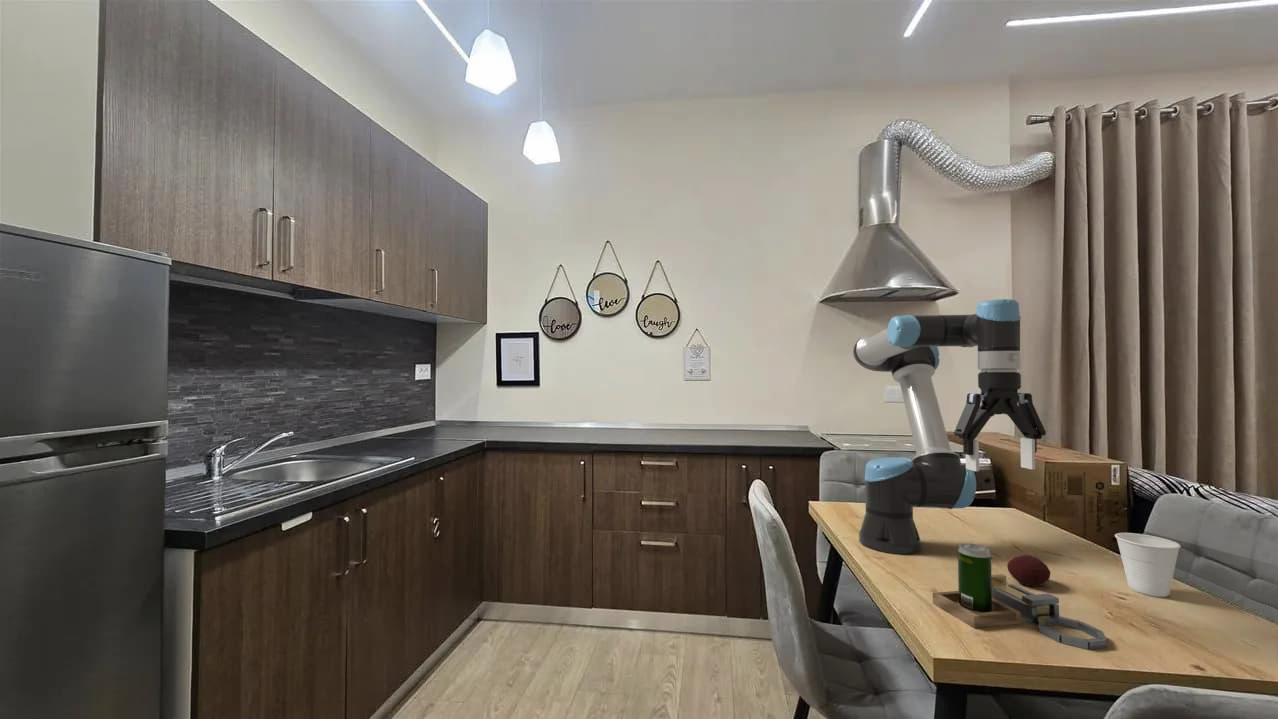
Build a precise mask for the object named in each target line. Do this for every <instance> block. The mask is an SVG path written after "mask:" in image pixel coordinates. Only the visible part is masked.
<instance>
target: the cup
mask: <svg viewBox="0 0 1278 719" xmlns="http://www.w3.org/2000/svg"><path fill="white" fill-rule="evenodd" d="M1114 537H1115V538H1116V541H1117V546H1118V548H1119V553H1120V556H1121V561H1122V565H1123V569H1124V572H1125V577H1126V581H1127V585H1128V586H1127V587H1129V588H1130V589H1131V590H1132V591H1133V592H1137V593H1138V594H1141V595H1144V596H1149V597H1154V598H1166V597H1168V596H1170V593H1171V588H1172V582H1173V578H1174V575H1175V569H1176V565H1177V560H1178V559H1177V558H1178V556H1179V550H1180V549H1181V547H1182V546H1181V544H1179V543H1178V542H1175V541H1174V540H1170V539H1167V538H1163V537H1159V536H1155V535H1148V534H1142V533H1134V532H1118V533H1115V534H1114Z"/></svg>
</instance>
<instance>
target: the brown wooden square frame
mask: <svg viewBox="0 0 1278 719" xmlns="http://www.w3.org/2000/svg"><path fill="white" fill-rule="evenodd" d="M932 604H933V605H935V606H936V607H938V608H940V609H942V610H943V611H945V612H947V613H948V614H950V615H952V616H954V617H955V618H957V619H958V620H960V621H961V622H963V623H965V624H967V625H969V626H970V627H971V628H973V629H981V628H990V627H991V628H992V627H1000V626H1011V625H1021V624H1022V618H1021V612H1019V611H1017V610H1015V609H1013V608H1011V607H1009V606H1007V605H1005V604H1003V603H1001V602H999V601H997V600H995V599H993V598H992V611H991V612H985V613H975V614H974V613H972V612H971V611H969V610H967V609H965V608H964V607H962V606H960V605H959V590H951V591H940V592H932Z"/></svg>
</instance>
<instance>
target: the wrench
mask: <svg viewBox="0 0 1278 719" xmlns="http://www.w3.org/2000/svg"><path fill="white" fill-rule="evenodd" d="M1007 586H1009V587H1011V588H1013V589H1015V590H1017V591H1020V592H1022V593H1024V594H1026V596H1022V600H1020V599H1018V598H1016V597H1014V596H1012V595H1010V594H1008V593H1006V592H1004V591H1001V590H999V589H997V588H995V587H993V586H992V598H993V599H995V600H997V601H999V602H1001V603H1003V604H1005V605H1007V606H1009V607H1011V608H1013V609H1015V610H1017V611H1019V612H1021V620H1024V621H1025V622H1028V623H1030V624H1032V625H1035V624H1037V628H1038V631H1039V633H1040V634H1043V635H1045V636H1047V637H1048V638H1050V639H1052V640H1053V641H1056V642H1058V643H1061V644H1063V645H1067V646H1072V647H1076V648H1080V649H1085V650H1090V651H1092V650H1100V649H1107V648H1108V640H1107V637H1106V635H1105V633H1104V631H1102V630H1101V629H1099V628H1097V627H1094V626H1093V625H1090V624H1089V623H1085V621H1080V620H1078V619H1073V618H1068V617H1064V616H1060V606H1059V603H1060V601H1059V600H1060V598H1059V597H1058V596H1055V595H1053V594H1051V593H1041V594H1035V593H1033V592H1031V591H1028V590H1027V589H1025V588H1024V589H1023V588H1022V587H1019V586H1017V585H1015V584H1013V583H1011V584H1008V585H1007ZM1037 605H1049V615H1050V616H1042V617H1038V620H1037V607H1035V606H1037ZM1058 625H1059V626H1063V627H1065V628H1066V627H1067V628H1072V629H1076V630H1079V631H1081V632H1084V633H1086V634H1087V635H1089V636H1092V637H1093V638H1081V637H1076V636H1072V635H1068V634H1064V633H1061V632H1059V631H1057V630H1055V629H1053V628H1052V627H1050V626H1058Z"/></svg>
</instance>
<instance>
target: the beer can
mask: <svg viewBox="0 0 1278 719" xmlns="http://www.w3.org/2000/svg"><path fill="white" fill-rule="evenodd" d="M991 575H992V555H991V553H990V549H989V548H988V547H986V546H984V545H980V544H976V543H967V542H966V543H960V544H959V545H958V549H957V576H958V581H957V582H958V584H957V585H958V591H959V605H960V606H962V607H964V608H965V609H967V610H969V611H971V612H972V613H974V614H975V613H985V612H991V611H992V579H991Z"/></svg>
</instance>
